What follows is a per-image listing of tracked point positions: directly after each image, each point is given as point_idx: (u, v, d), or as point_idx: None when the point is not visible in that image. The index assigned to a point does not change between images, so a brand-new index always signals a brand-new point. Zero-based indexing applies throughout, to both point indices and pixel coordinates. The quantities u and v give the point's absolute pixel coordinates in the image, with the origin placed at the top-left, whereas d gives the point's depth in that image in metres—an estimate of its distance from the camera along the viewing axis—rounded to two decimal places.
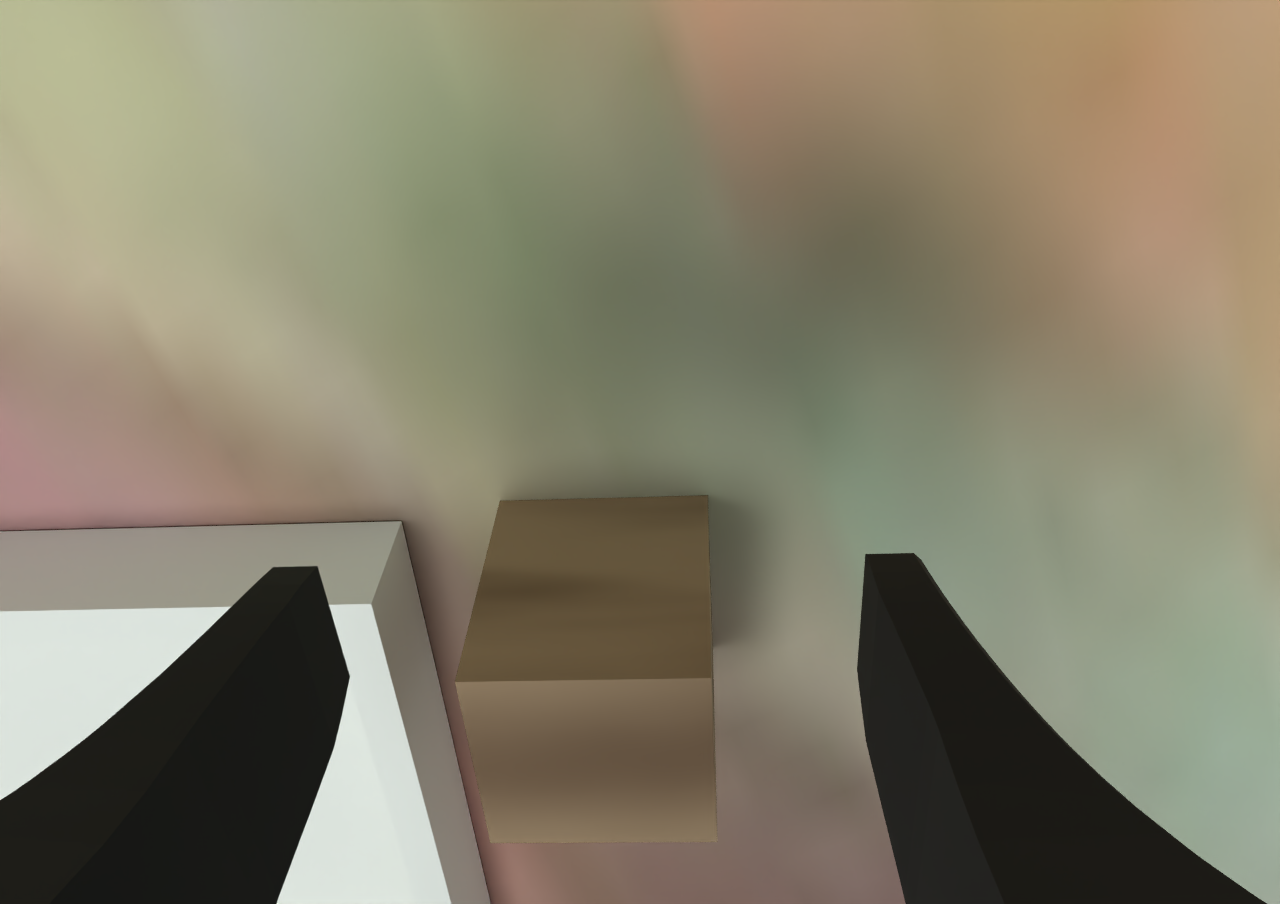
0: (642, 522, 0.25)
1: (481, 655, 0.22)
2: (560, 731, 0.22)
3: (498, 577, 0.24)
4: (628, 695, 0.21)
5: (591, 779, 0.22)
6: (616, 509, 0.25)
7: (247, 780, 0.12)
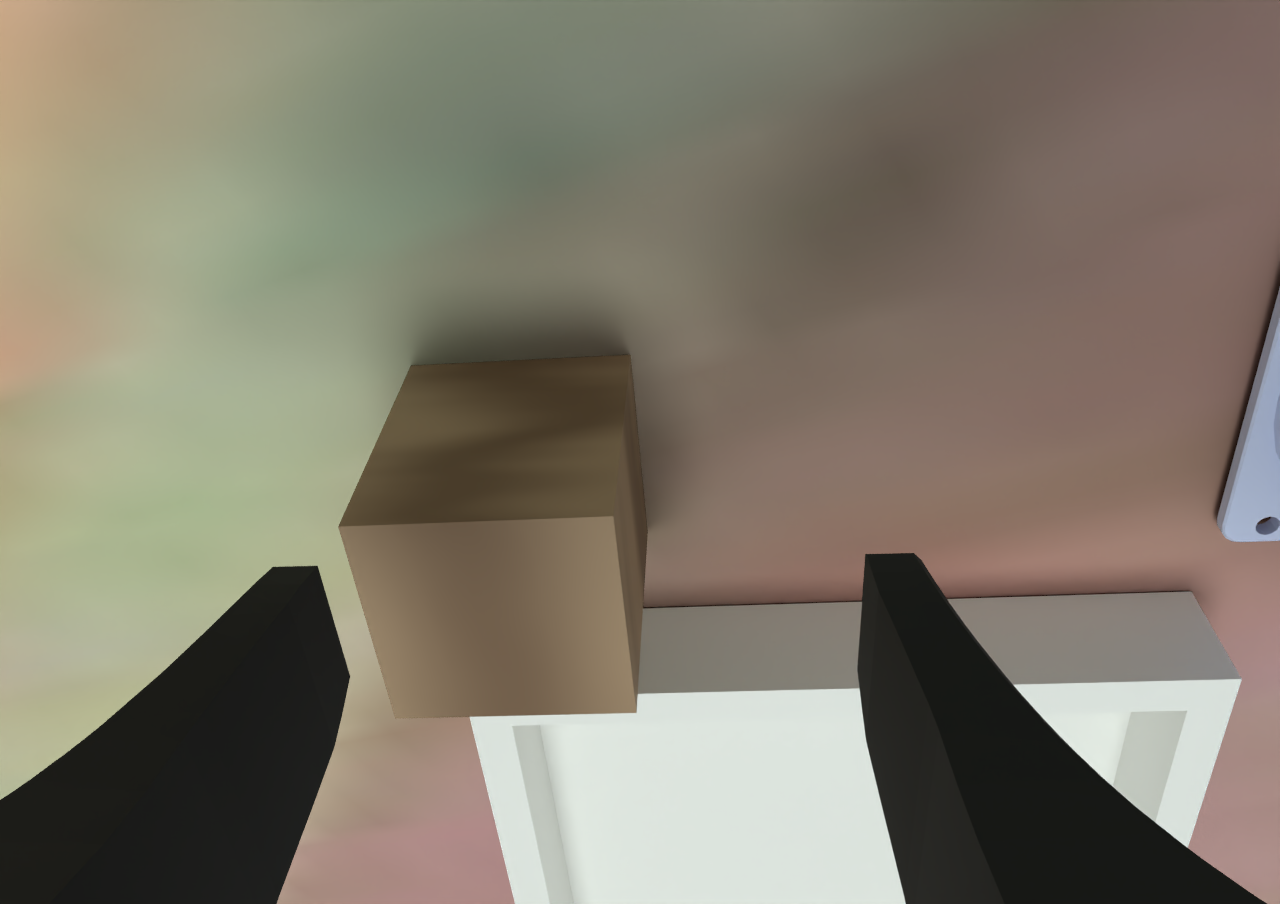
0: None
1: None
2: (448, 648, 0.21)
3: None
4: (381, 594, 0.20)
5: (517, 627, 0.21)
6: None
7: (247, 780, 0.12)
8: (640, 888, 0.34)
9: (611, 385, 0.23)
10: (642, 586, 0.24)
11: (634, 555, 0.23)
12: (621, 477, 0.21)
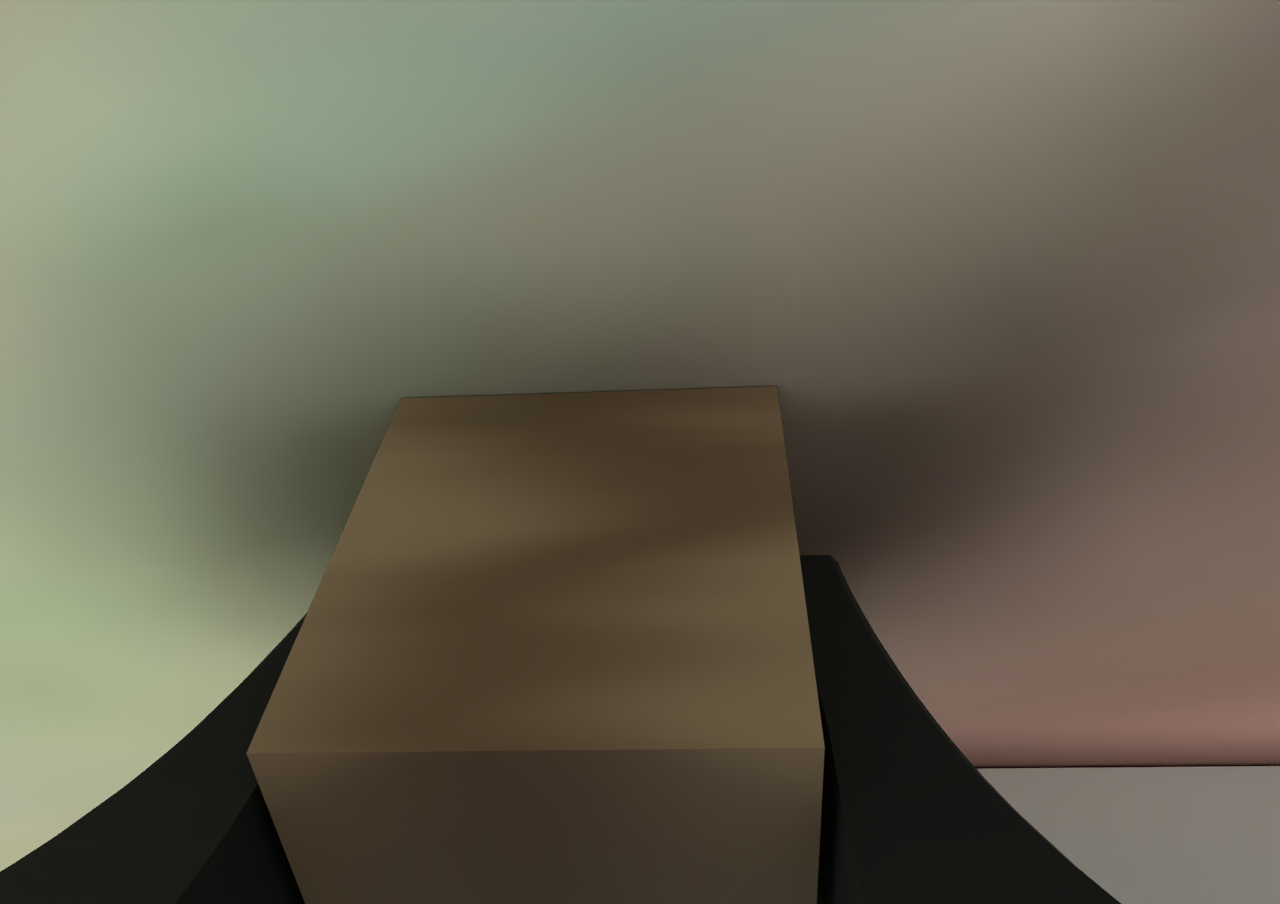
0: None
1: None
2: None
3: None
4: (337, 867, 0.10)
5: None
6: None
7: None
8: None
9: (756, 445, 0.13)
10: None
11: None
12: None
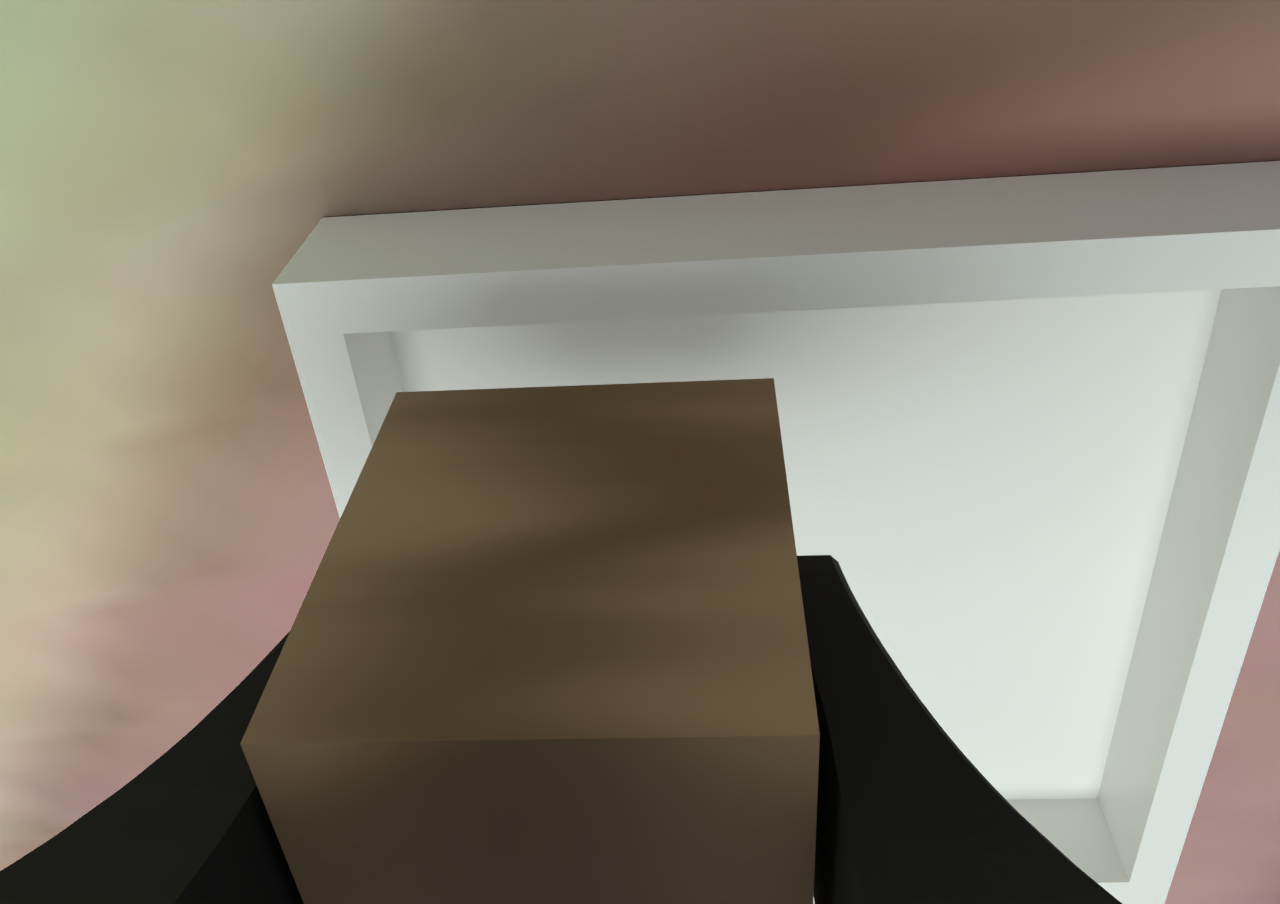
0: None
1: None
2: None
3: None
4: (332, 860, 0.10)
5: None
6: None
7: None
8: None
9: (752, 436, 0.13)
10: None
11: None
12: None
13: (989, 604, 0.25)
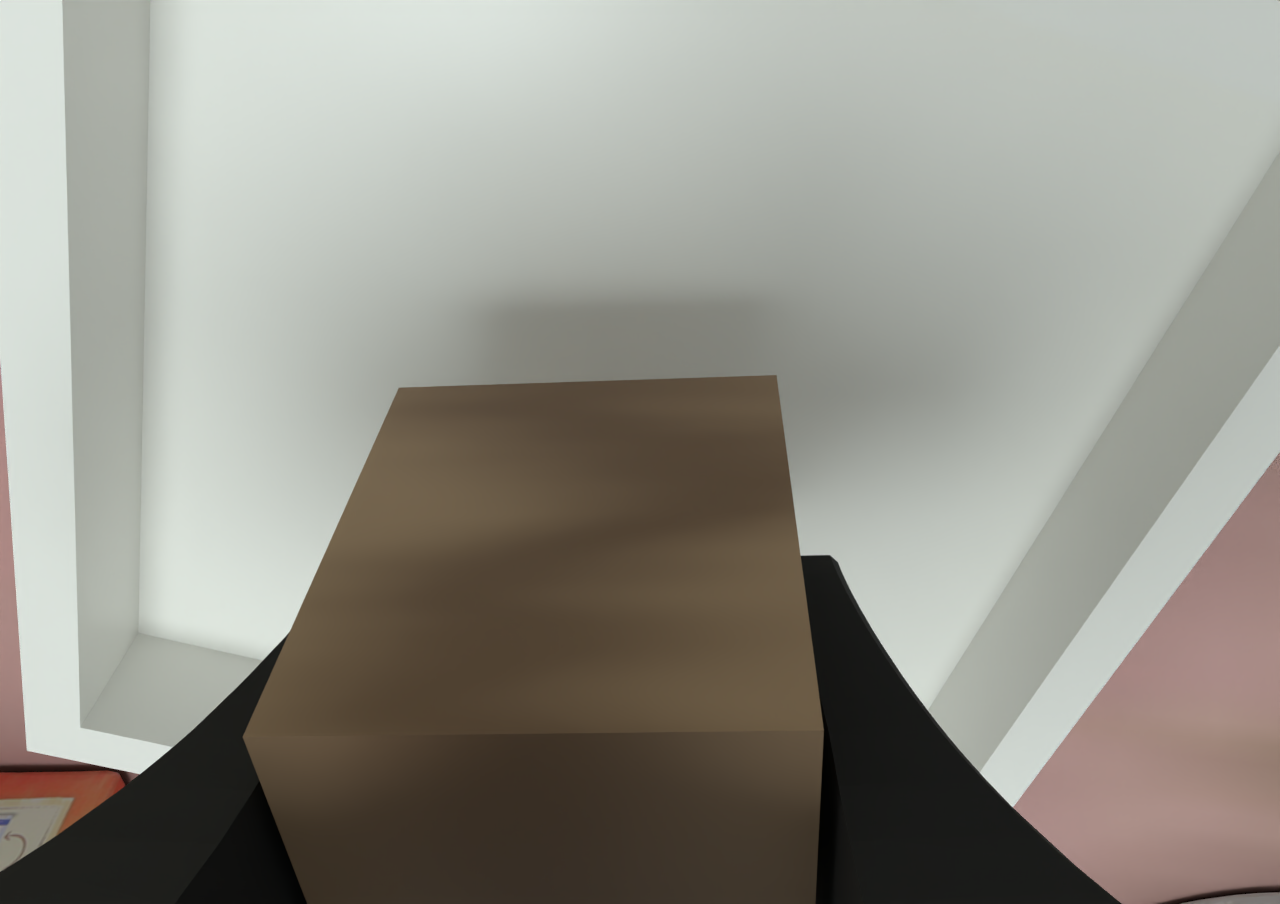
0: None
1: None
2: None
3: None
4: (334, 853, 0.10)
5: None
6: None
7: None
8: (270, 439, 0.19)
9: (755, 433, 0.13)
10: None
11: None
12: None
13: (842, 519, 0.20)
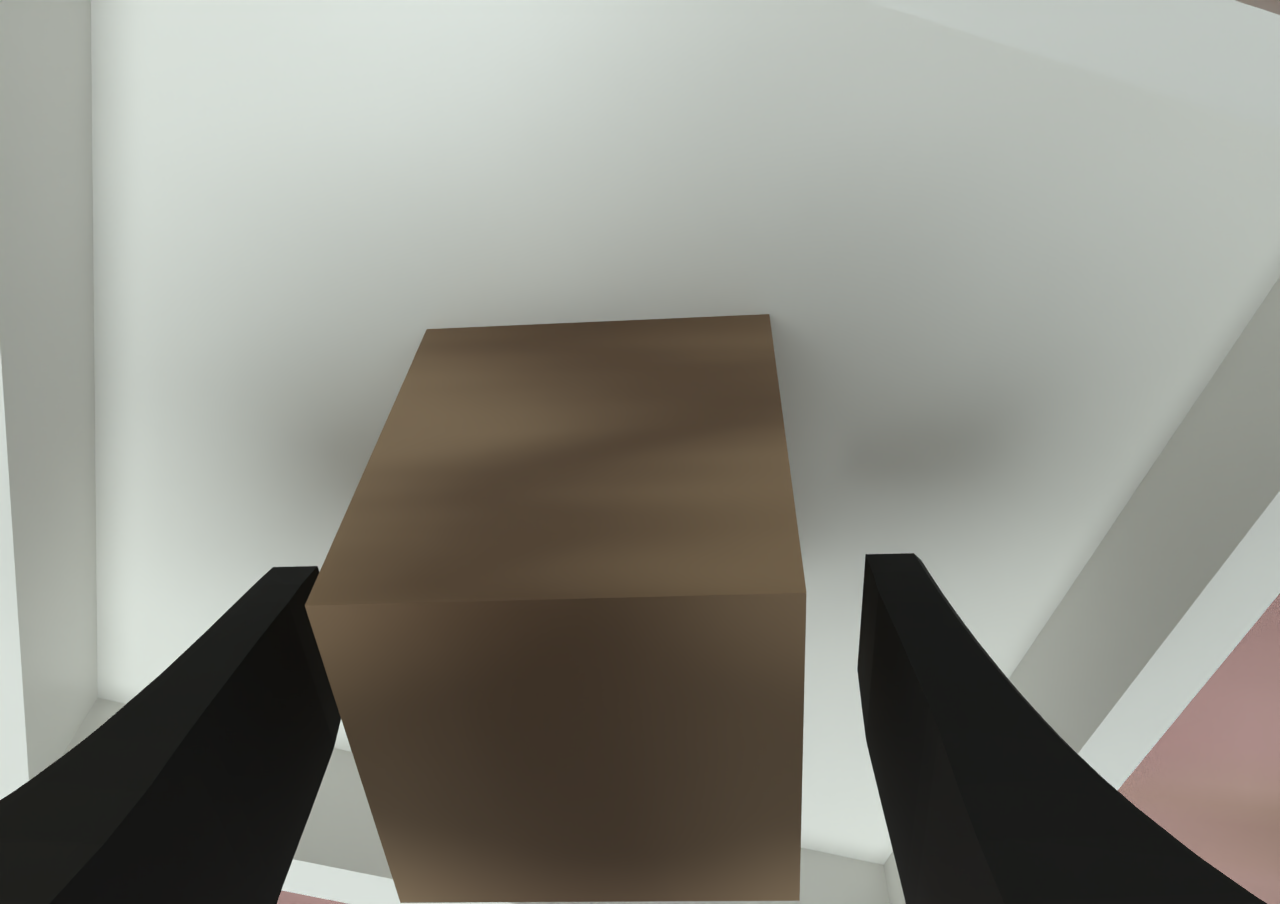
0: None
1: None
2: (492, 802, 0.12)
3: None
4: (382, 717, 0.12)
5: (614, 772, 0.12)
6: None
7: (247, 780, 0.12)
8: (234, 498, 0.18)
9: (750, 362, 0.14)
10: None
11: None
12: None
13: (852, 582, 0.18)
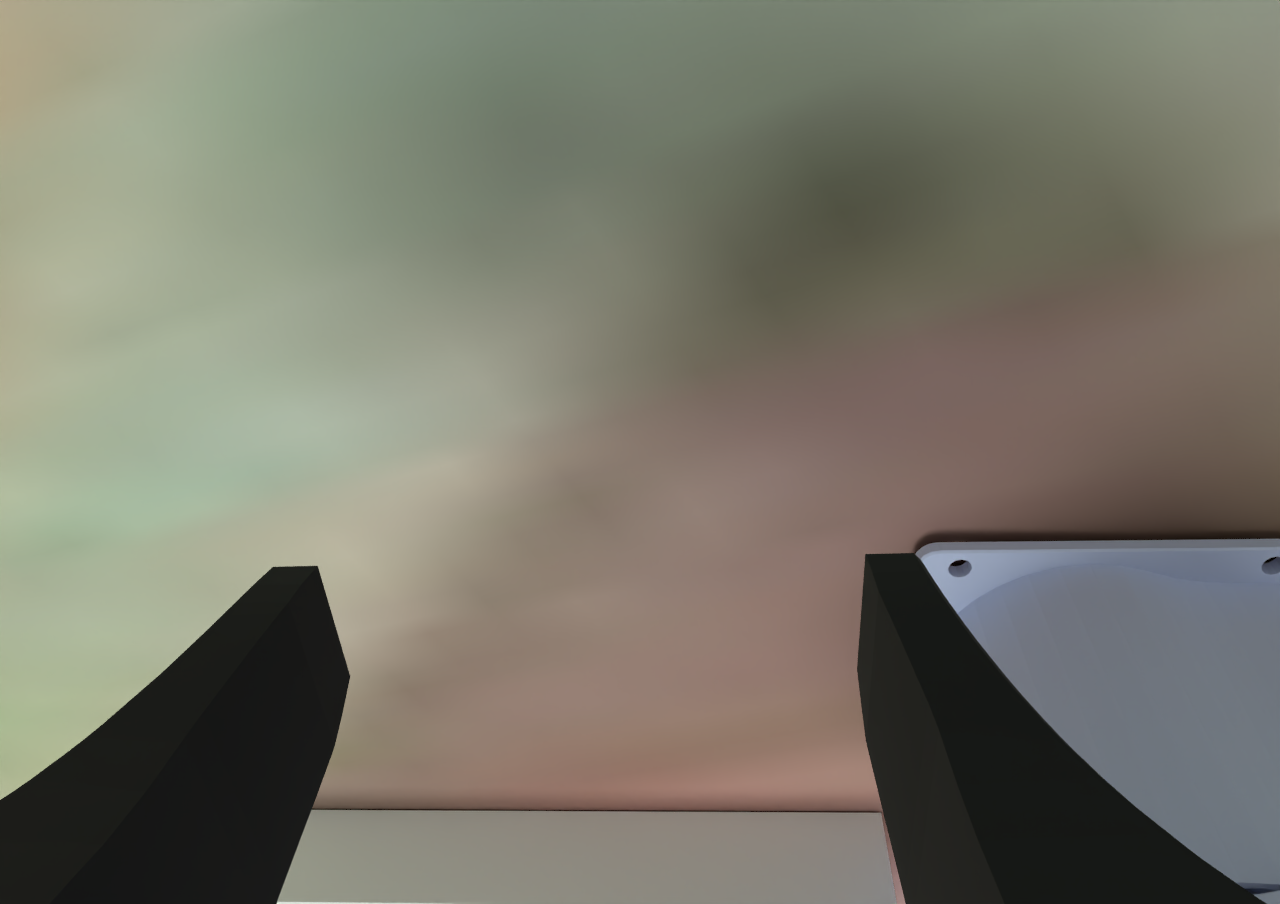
0: None
1: None
2: None
3: None
4: None
5: None
6: None
7: (247, 780, 0.12)
8: None
9: None
10: None
11: None
12: None
13: None
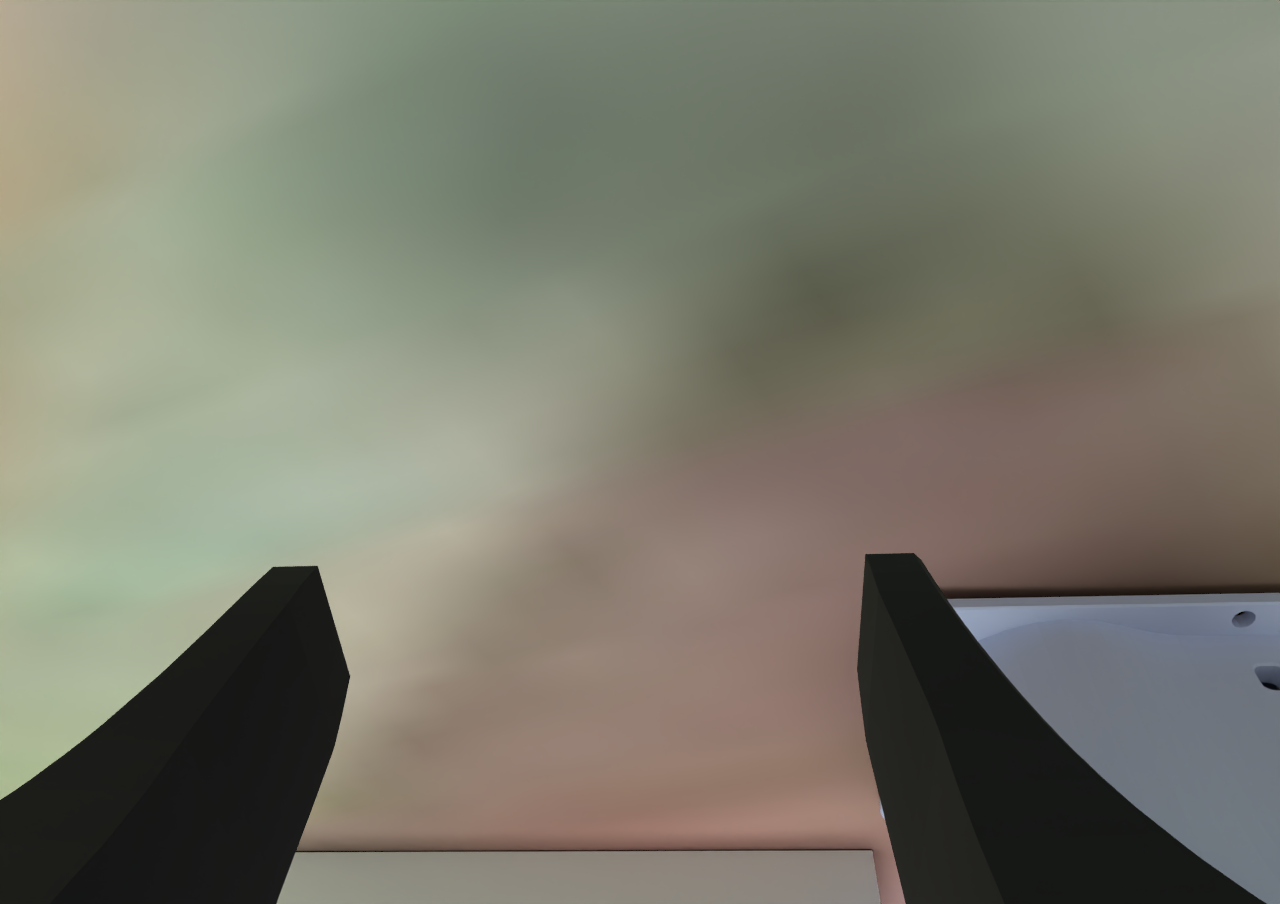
0: None
1: None
2: None
3: None
4: None
5: None
6: None
7: (247, 780, 0.12)
8: None
9: None
10: None
11: None
12: None
13: None
